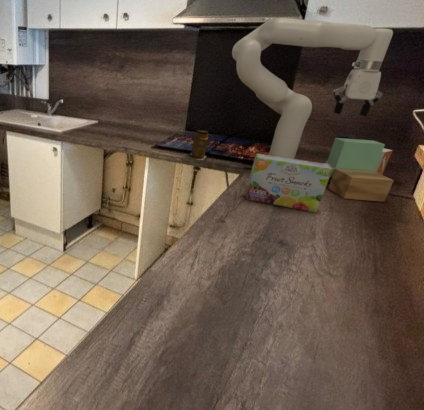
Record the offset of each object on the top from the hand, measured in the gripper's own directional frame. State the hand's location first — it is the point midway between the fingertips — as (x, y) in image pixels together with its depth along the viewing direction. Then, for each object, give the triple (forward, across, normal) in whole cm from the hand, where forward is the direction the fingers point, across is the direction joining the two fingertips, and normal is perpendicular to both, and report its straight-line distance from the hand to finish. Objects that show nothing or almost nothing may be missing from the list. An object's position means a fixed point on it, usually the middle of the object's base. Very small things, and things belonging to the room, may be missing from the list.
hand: (349, 114), depth 136 cm
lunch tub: (+13, 0, -13) cm, 18 cm away
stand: (+26, 0, -18) cm, 32 cm away
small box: (+26, +18, +2) cm, 31 cm away
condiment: (+26, -50, +17) cm, 59 cm away
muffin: (+26, +1, +2) cm, 26 cm away
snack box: (+26, -33, -33) cm, 53 cm away
